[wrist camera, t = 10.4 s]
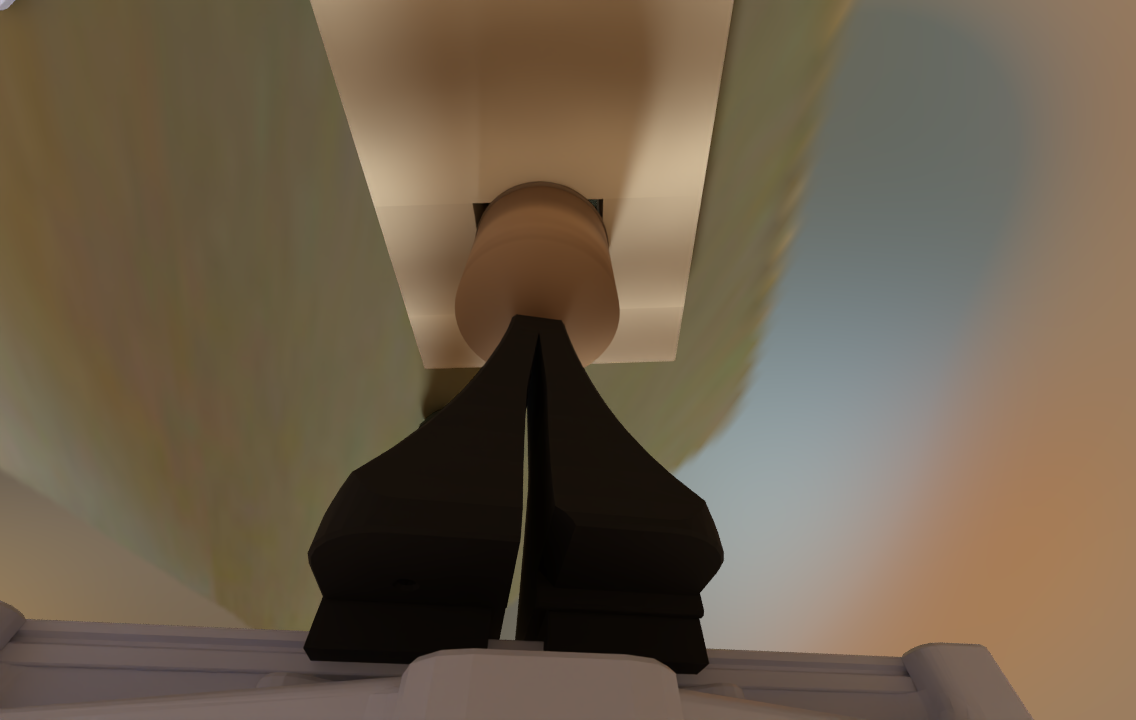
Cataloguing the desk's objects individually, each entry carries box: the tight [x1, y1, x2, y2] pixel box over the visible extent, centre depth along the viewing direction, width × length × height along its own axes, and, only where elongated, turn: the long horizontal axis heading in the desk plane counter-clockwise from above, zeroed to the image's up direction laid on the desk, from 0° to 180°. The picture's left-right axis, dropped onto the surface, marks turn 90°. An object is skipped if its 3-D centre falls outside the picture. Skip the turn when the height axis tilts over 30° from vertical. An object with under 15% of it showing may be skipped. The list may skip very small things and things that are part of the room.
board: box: [310, 0, 734, 369], centre depth 15 cm, size 16×11×3 cm
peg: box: [455, 181, 620, 367], centre depth 15 cm, size 5×5×7 cm
